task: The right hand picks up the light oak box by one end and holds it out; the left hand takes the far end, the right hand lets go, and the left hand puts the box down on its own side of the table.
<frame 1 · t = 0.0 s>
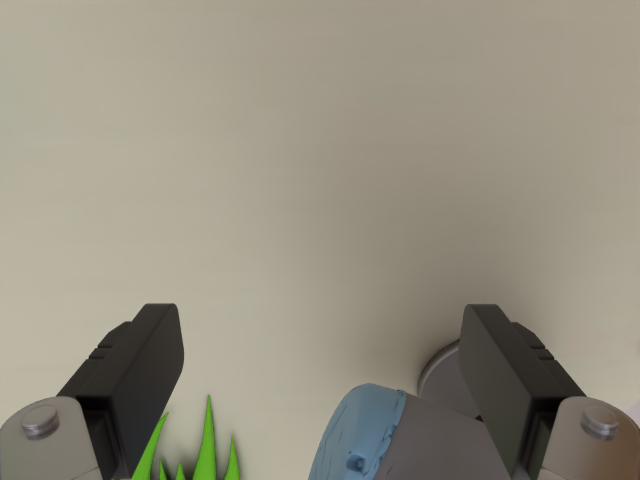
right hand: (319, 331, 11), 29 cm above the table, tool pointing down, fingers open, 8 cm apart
toy 2: (183, 477, 55), on the table
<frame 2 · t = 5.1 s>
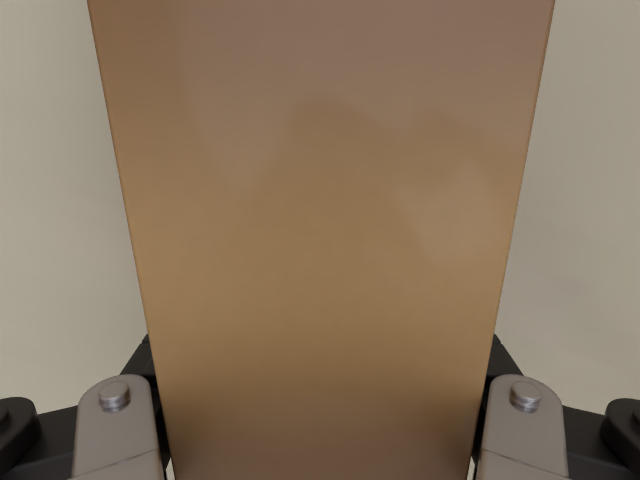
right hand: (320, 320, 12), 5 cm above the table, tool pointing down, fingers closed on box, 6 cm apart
box: (320, 24, 14), on the table, touching right hand
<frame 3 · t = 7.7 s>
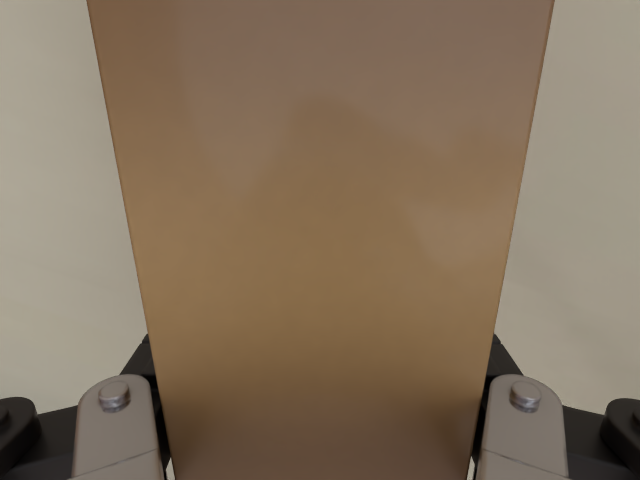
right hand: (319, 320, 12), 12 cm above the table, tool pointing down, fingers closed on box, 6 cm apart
box: (320, 24, 14), point 7 cm above the table, touching right hand
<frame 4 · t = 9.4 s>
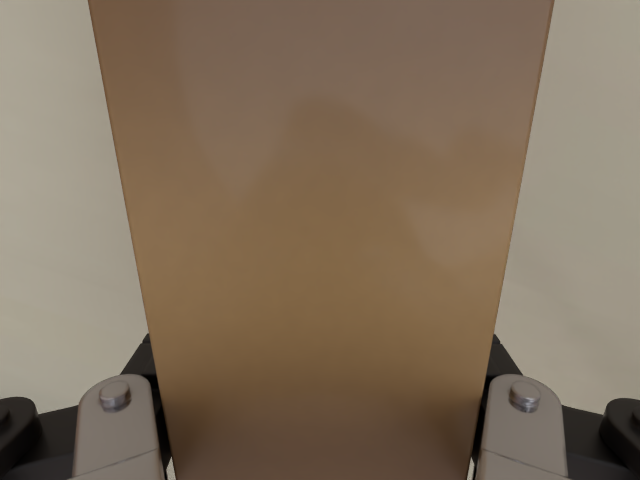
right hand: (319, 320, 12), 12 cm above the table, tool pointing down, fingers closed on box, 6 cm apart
box: (320, 24, 14), point 7 cm above the table, touching right hand, left hand
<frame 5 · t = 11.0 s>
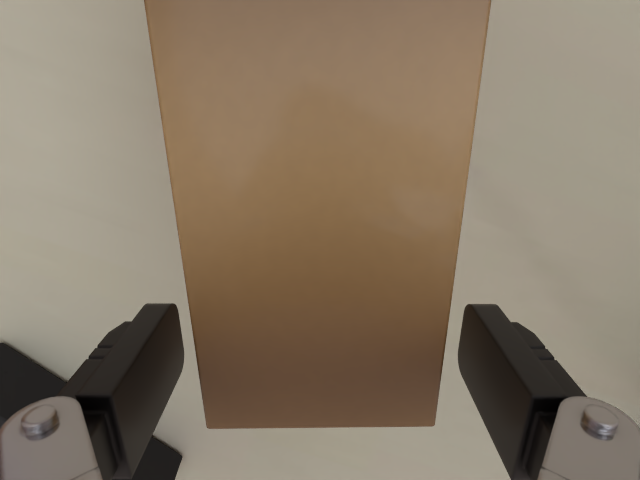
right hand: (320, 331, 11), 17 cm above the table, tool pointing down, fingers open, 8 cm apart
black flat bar: (95, 405, 34), on the table
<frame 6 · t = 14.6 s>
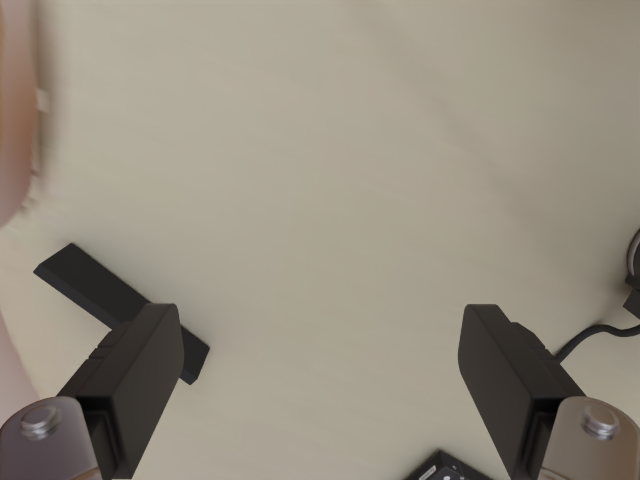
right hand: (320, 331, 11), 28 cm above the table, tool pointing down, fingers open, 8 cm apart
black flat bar: (141, 300, 43), on the table
when the left hand's fingers open (2 cm above the table, at t = 19.9 s): box drops 1 cm, on the table.
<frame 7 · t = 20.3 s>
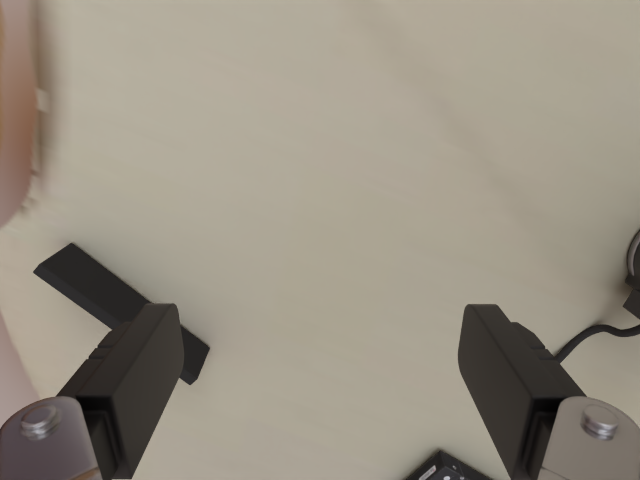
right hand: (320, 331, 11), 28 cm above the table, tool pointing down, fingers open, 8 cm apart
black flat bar: (141, 300, 43), on the table
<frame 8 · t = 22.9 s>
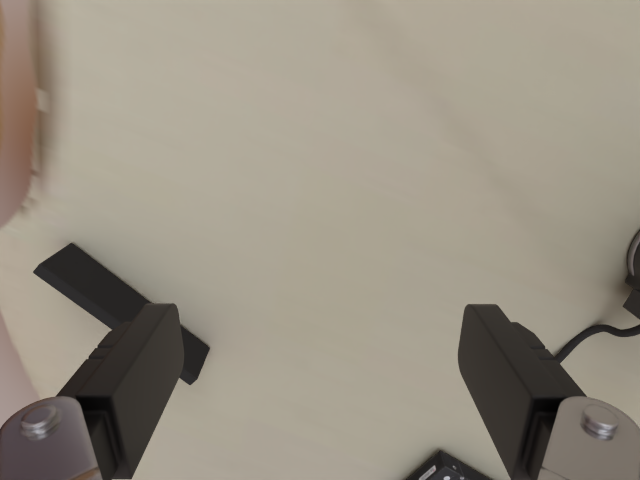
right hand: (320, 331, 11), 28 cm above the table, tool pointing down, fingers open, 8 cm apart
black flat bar: (141, 300, 43), on the table
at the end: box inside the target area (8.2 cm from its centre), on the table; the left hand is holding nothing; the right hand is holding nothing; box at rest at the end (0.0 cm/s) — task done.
